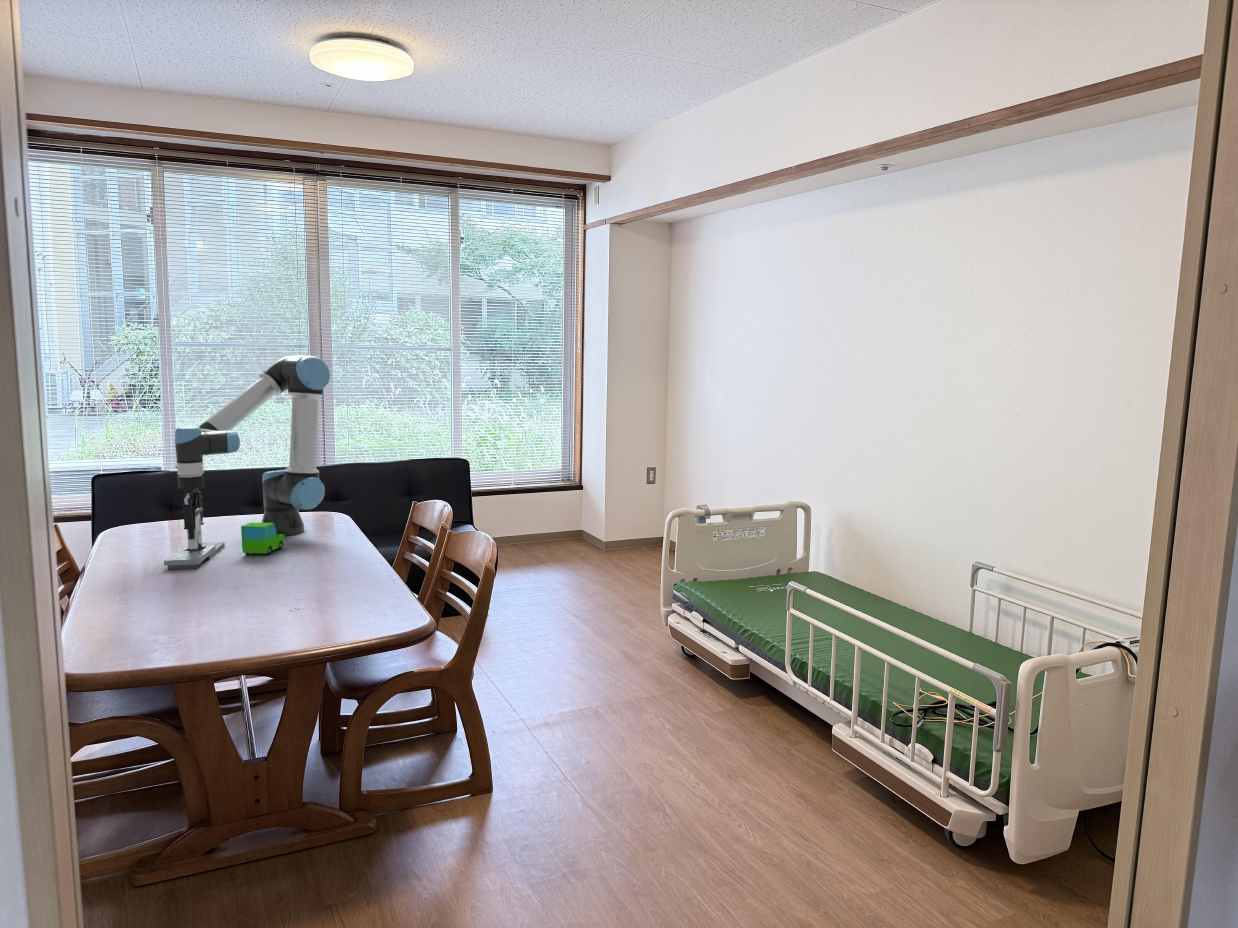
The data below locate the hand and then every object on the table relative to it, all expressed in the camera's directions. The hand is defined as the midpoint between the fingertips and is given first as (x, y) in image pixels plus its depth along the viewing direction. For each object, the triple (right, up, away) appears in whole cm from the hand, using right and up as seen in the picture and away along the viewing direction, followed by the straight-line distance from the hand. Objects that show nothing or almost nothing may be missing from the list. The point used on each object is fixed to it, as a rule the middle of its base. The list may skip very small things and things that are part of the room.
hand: (195, 546), depth 277 cm
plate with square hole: (0, -4, +1) cm, 4 cm away
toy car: (+19, -3, +9) cm, 21 cm away
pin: (0, 0, 0) cm, 0 cm away
